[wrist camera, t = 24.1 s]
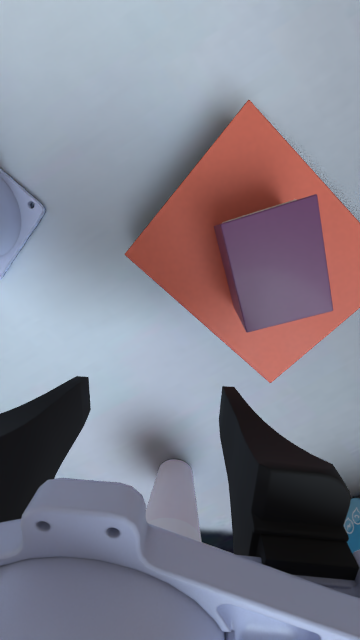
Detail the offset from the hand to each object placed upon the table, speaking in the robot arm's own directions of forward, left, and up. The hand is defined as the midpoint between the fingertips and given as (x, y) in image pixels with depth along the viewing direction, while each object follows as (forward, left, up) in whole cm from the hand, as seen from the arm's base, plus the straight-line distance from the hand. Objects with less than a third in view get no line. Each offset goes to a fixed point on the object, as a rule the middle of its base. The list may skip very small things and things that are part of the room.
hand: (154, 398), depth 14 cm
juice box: (0, +9, -6) cm, 11 cm away
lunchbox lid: (0, +9, -7) cm, 11 cm away
